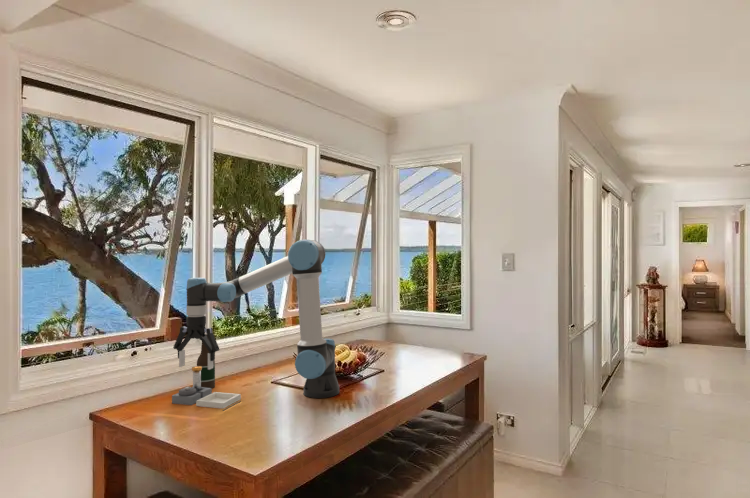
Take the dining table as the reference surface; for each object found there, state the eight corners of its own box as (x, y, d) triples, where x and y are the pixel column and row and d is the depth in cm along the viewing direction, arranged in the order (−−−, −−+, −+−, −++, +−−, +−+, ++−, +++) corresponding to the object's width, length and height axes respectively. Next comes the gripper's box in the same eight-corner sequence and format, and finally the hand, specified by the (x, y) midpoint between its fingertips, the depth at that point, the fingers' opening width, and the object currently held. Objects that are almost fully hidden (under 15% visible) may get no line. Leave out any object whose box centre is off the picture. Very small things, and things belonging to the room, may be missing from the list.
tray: (240, 401, 195) (240, 394, 195) (223, 411, 184) (223, 403, 184) (214, 399, 199) (214, 391, 199) (196, 408, 187) (196, 400, 187)
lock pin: (203, 395, 200) (203, 366, 200) (198, 398, 196) (197, 368, 196) (196, 395, 201) (195, 365, 201) (190, 397, 198) (189, 367, 198)
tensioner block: (193, 396, 203) (193, 380, 203) (211, 397, 201) (211, 381, 201) (172, 405, 191) (171, 388, 191) (191, 407, 188) (191, 390, 188)
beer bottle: (209, 392, 208) (208, 336, 208) (193, 391, 210) (192, 336, 210) (218, 387, 216) (218, 333, 216) (202, 386, 217) (202, 333, 217)
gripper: (228, 315, 199) (228, 367, 199) (176, 313, 206) (176, 363, 206) (217, 318, 192) (217, 372, 192) (164, 315, 199) (164, 367, 199)
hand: (196, 367), depth 199 cm, fingers open, 13 cm apart
